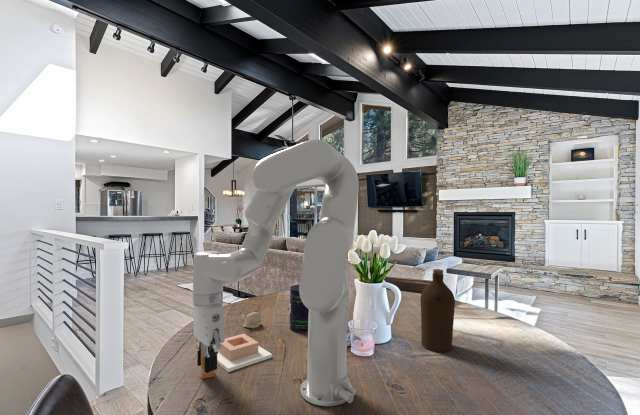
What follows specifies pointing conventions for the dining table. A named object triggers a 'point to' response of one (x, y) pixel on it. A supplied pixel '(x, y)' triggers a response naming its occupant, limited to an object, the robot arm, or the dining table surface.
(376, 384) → the dining table surface
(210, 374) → the supplement box
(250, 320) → the decorative ornament
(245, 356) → the socket holder
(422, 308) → the olive oil
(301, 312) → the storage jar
